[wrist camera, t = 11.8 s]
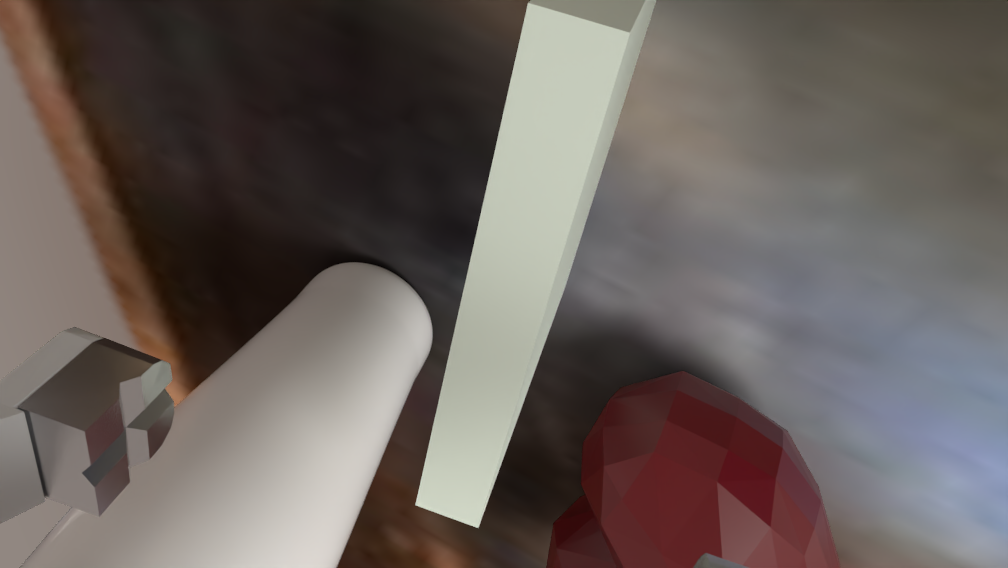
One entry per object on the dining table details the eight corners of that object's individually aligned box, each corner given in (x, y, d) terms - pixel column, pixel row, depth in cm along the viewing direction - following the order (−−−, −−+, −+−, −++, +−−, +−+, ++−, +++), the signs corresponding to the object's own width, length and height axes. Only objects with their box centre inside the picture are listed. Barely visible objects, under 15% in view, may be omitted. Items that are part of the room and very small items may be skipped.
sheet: (621, -88, 20) (527, 2, 12) (679, -71, 20) (629, 32, 11) (522, 272, 27) (415, 505, 18) (565, 286, 27) (478, 528, 18)
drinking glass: (473, 381, 31) (296, 772, 18) (326, 383, 33) (80, 734, 21) (429, 231, 27) (177, 583, 15) (269, 245, 30) (-63, 562, 17)
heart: (922, 413, 25) (640, 302, 27) (936, 607, 19) (572, 446, 21) (780, 608, 32) (564, 508, 34) (756, 795, 26) (497, 660, 28)
